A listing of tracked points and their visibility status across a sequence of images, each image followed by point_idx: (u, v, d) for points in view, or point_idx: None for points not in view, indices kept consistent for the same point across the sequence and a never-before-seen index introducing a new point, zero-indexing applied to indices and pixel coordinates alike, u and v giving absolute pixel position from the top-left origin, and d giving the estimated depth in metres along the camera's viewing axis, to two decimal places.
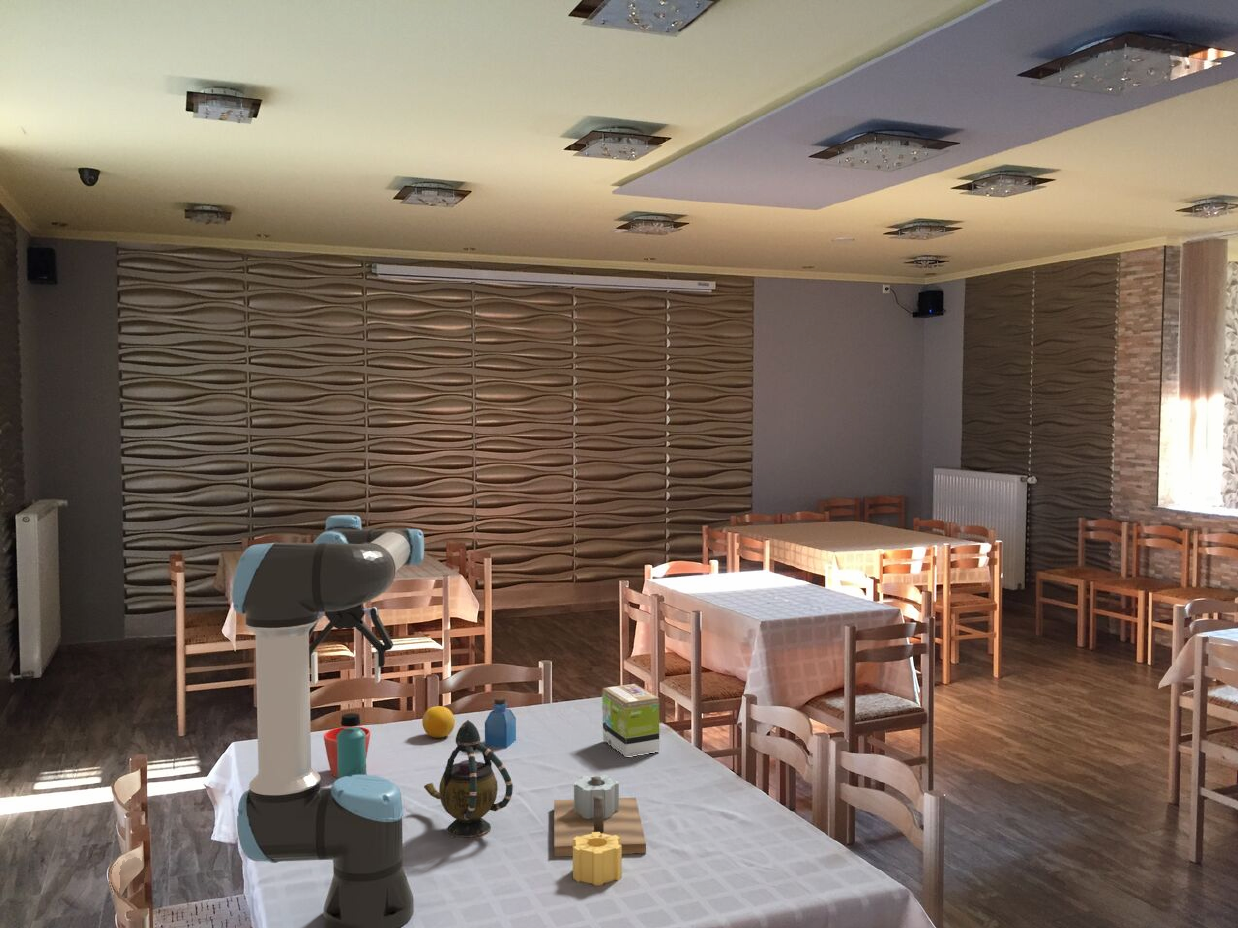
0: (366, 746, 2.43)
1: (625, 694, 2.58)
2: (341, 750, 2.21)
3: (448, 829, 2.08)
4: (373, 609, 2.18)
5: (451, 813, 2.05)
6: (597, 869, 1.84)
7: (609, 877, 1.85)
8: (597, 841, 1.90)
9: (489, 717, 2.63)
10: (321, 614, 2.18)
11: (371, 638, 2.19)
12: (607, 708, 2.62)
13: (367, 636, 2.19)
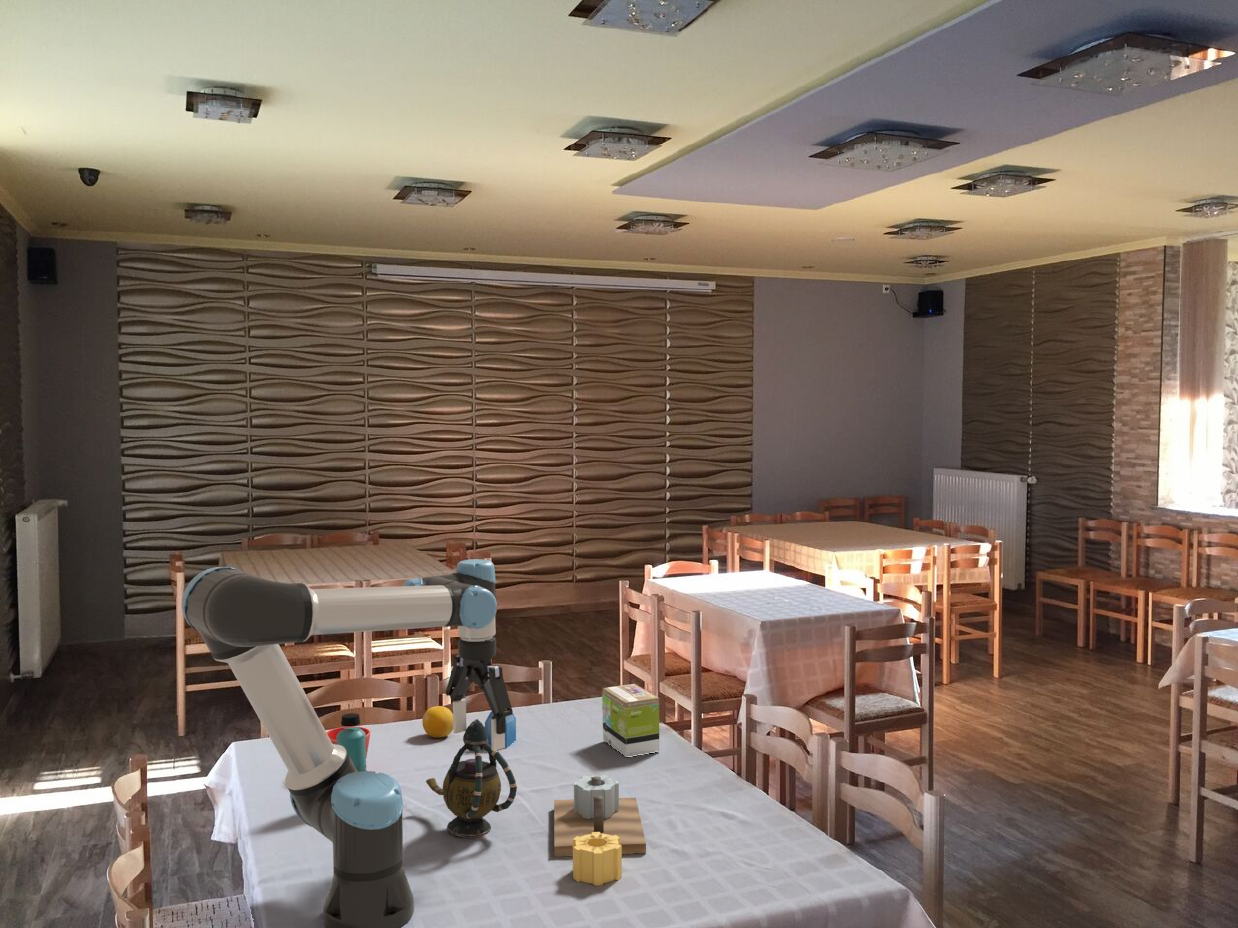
0: (366, 746, 2.43)
1: (625, 694, 2.58)
2: None
3: (448, 826, 2.08)
4: (490, 668, 1.96)
5: (453, 811, 2.05)
6: (597, 869, 1.84)
7: (609, 877, 1.85)
8: (597, 841, 1.90)
9: (489, 717, 2.63)
10: (461, 662, 2.05)
11: (489, 700, 1.97)
12: (607, 708, 2.62)
13: (487, 696, 1.97)
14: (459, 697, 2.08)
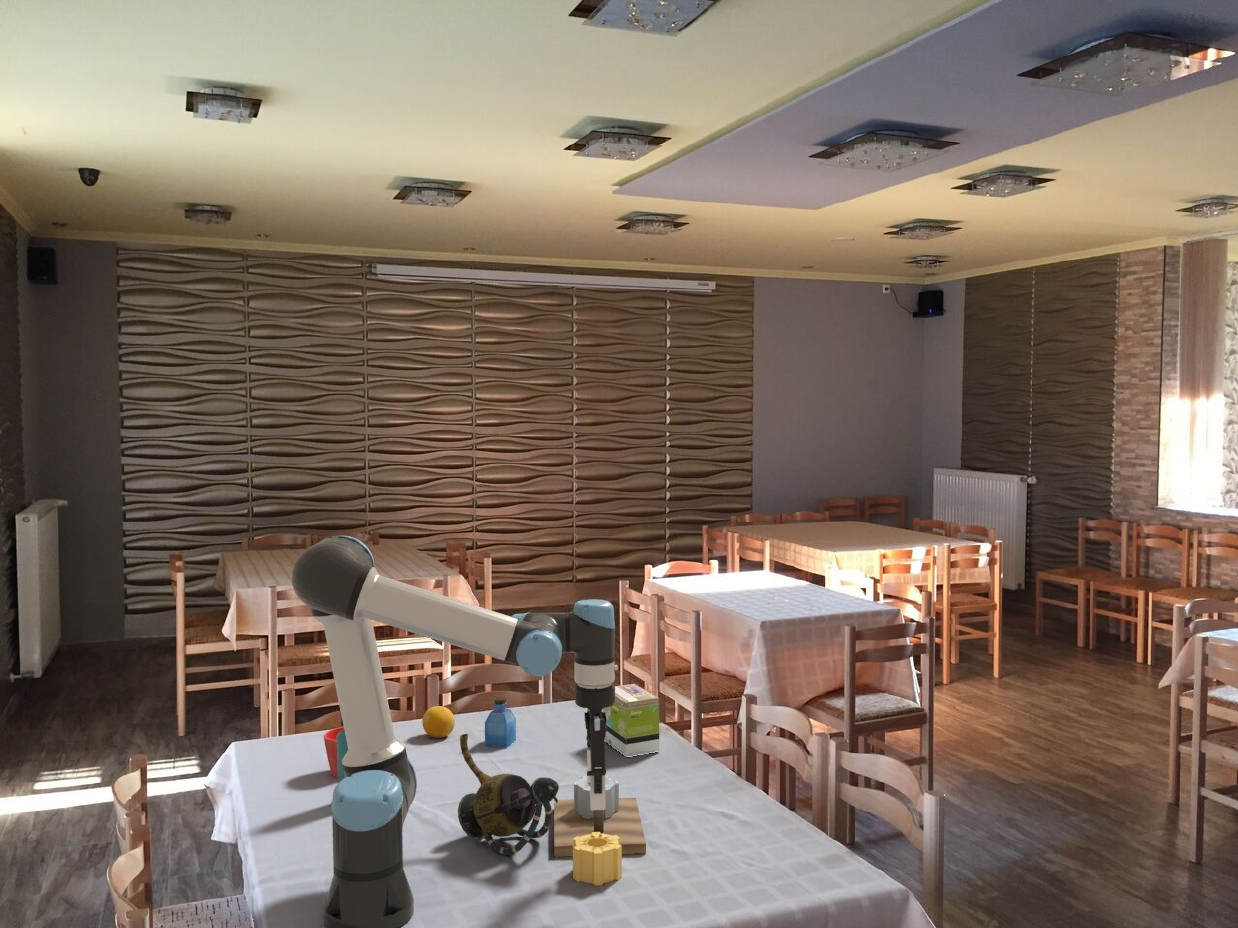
0: None
1: (625, 694, 2.58)
2: (341, 750, 2.21)
3: (461, 813, 2.03)
4: (590, 720, 1.81)
5: (478, 822, 1.99)
6: (597, 869, 1.84)
7: (609, 877, 1.85)
8: (597, 841, 1.90)
9: (489, 717, 2.63)
10: None
11: (590, 754, 1.82)
12: (607, 708, 2.62)
13: (590, 750, 1.83)
14: None
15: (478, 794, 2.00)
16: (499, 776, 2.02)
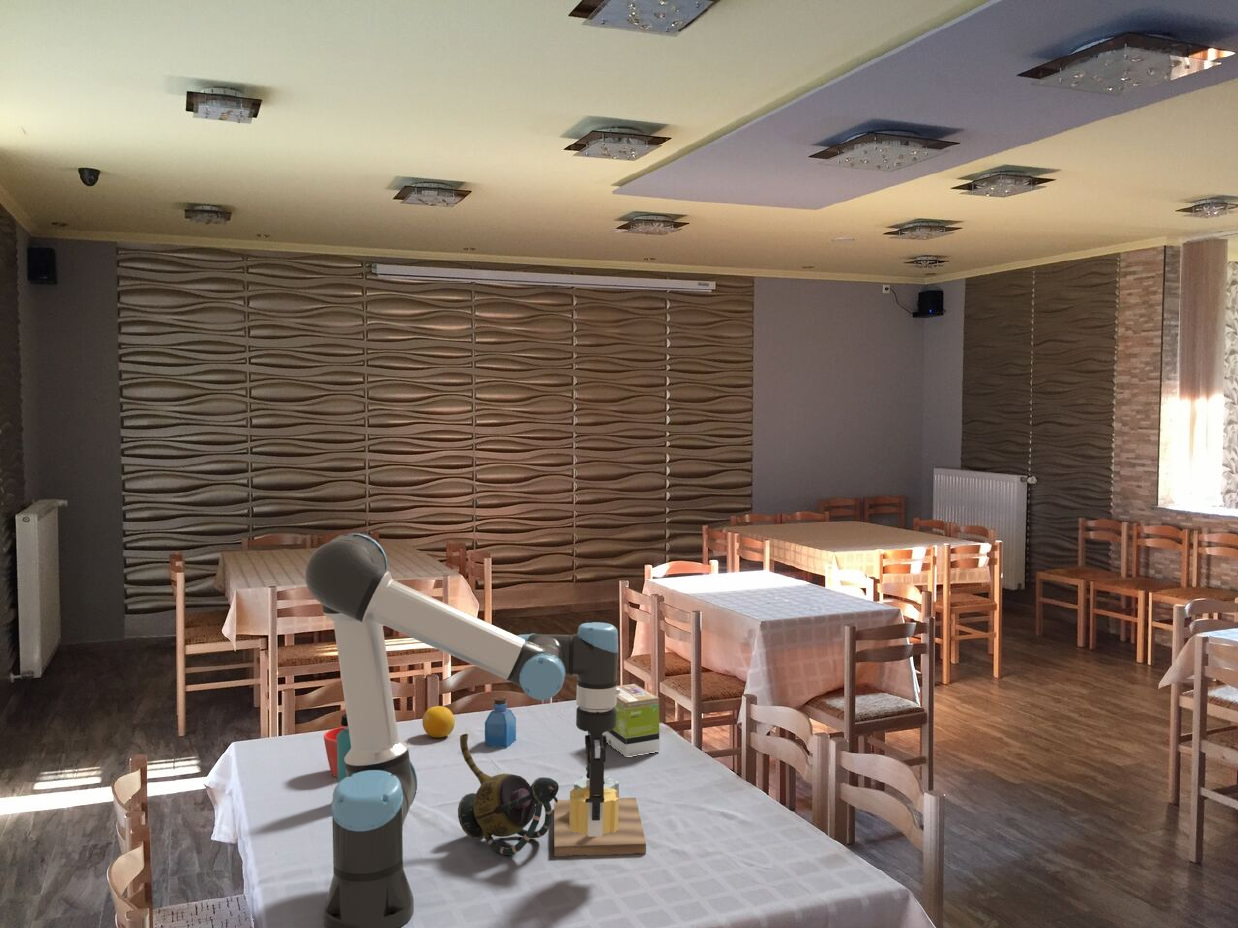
0: None
1: (625, 694, 2.58)
2: (341, 750, 2.21)
3: (461, 813, 2.03)
4: (590, 748, 1.81)
5: (478, 822, 1.99)
6: None
7: (605, 829, 1.85)
8: None
9: (489, 717, 2.63)
10: None
11: (589, 780, 1.83)
12: None
13: (589, 775, 1.84)
14: None
15: (478, 794, 2.00)
16: (499, 776, 2.02)
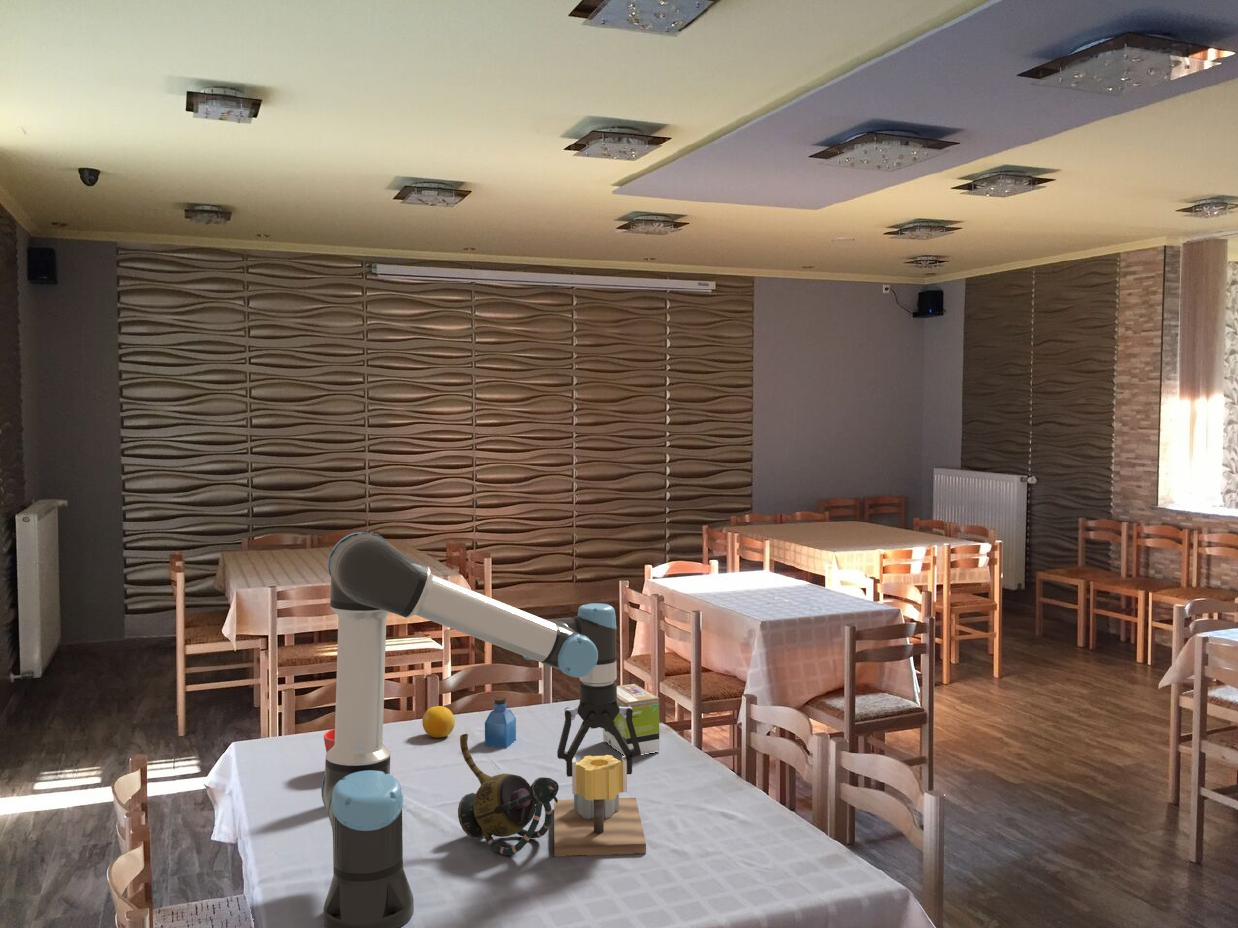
0: None
1: (625, 694, 2.58)
2: None
3: (461, 813, 2.03)
4: (630, 710, 2.01)
5: (478, 822, 1.99)
6: (622, 776, 2.03)
7: None
8: None
9: (489, 717, 2.63)
10: (574, 714, 2.01)
11: (622, 742, 2.01)
12: None
13: (618, 739, 2.01)
14: None
15: (478, 794, 2.00)
16: (499, 776, 2.02)
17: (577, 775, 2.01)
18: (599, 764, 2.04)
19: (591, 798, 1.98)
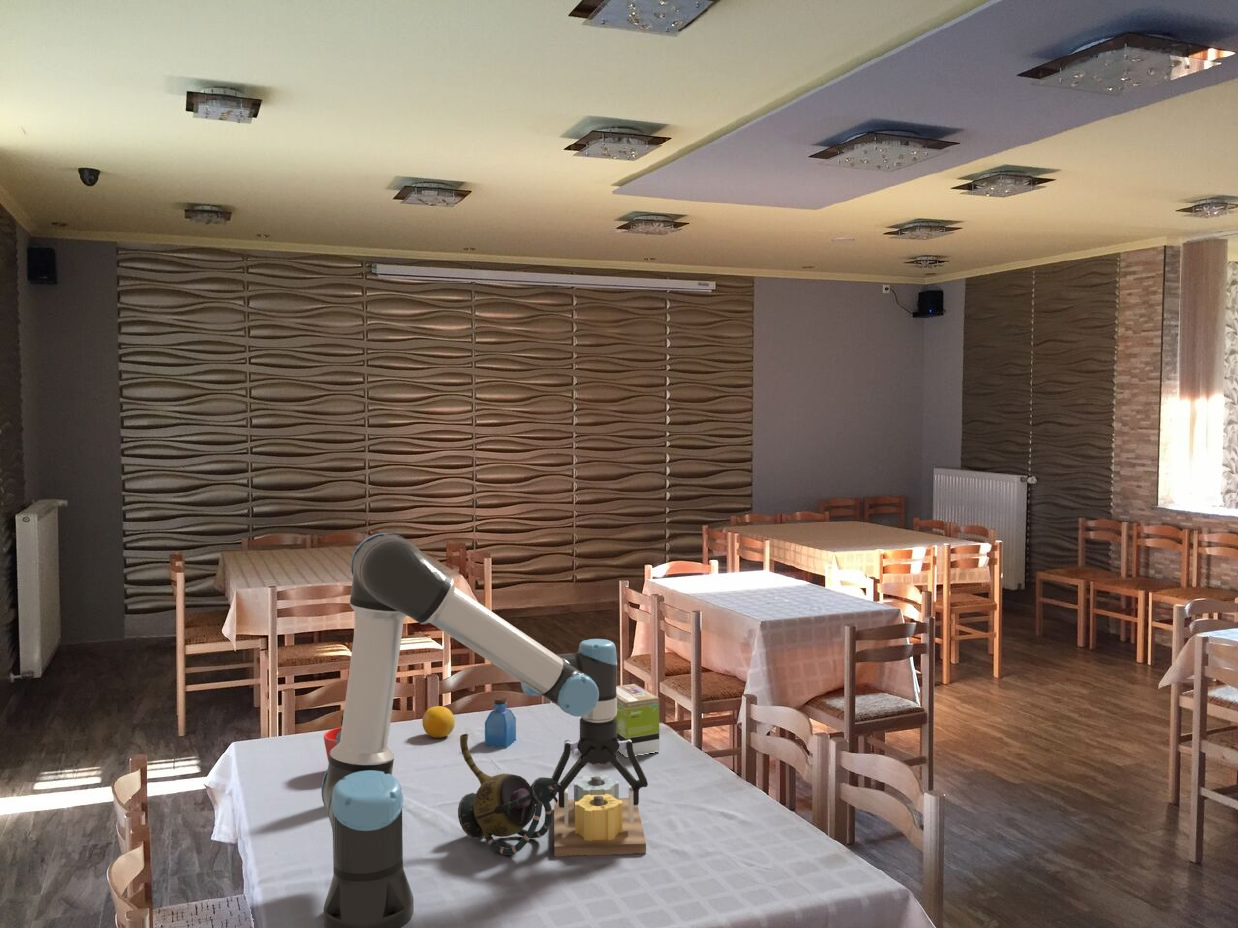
0: None
1: (625, 694, 2.58)
2: None
3: (461, 813, 2.03)
4: (630, 743, 2.01)
5: (478, 822, 1.99)
6: None
7: None
8: None
9: (489, 717, 2.63)
10: (573, 748, 2.02)
11: (626, 774, 2.02)
12: None
13: (622, 772, 2.02)
14: None
15: (478, 794, 2.00)
16: (499, 776, 2.02)
17: (576, 815, 2.02)
18: None
19: (590, 838, 1.99)
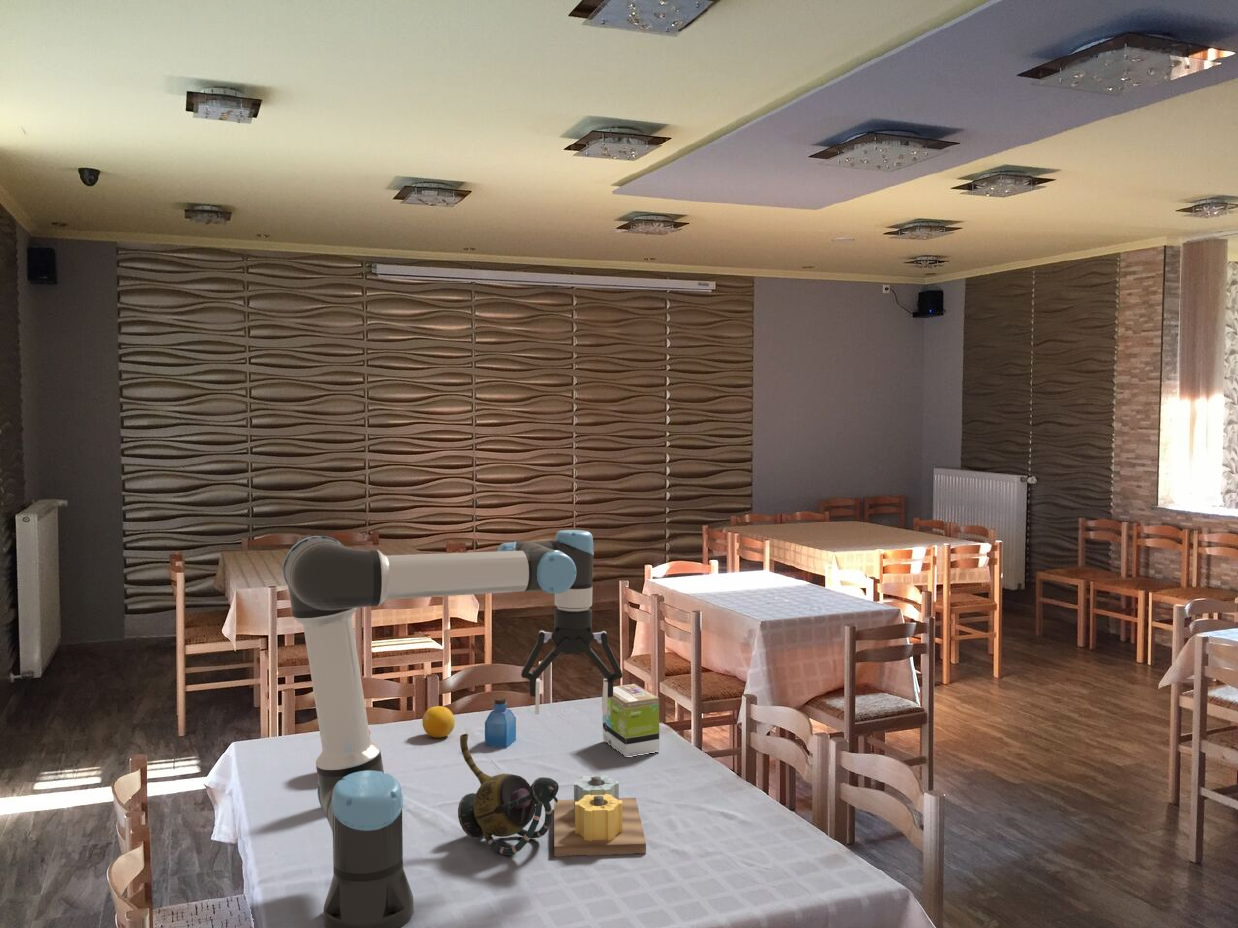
0: None
1: (625, 694, 2.58)
2: None
3: (461, 813, 2.03)
4: (604, 634, 2.00)
5: (478, 822, 1.99)
6: None
7: None
8: None
9: (489, 717, 2.63)
10: (547, 637, 2.00)
11: (601, 665, 2.00)
12: (607, 708, 2.62)
13: (597, 663, 2.00)
14: None
15: (478, 794, 2.00)
16: (499, 776, 2.02)
17: (576, 815, 2.02)
18: None
19: (590, 838, 1.99)
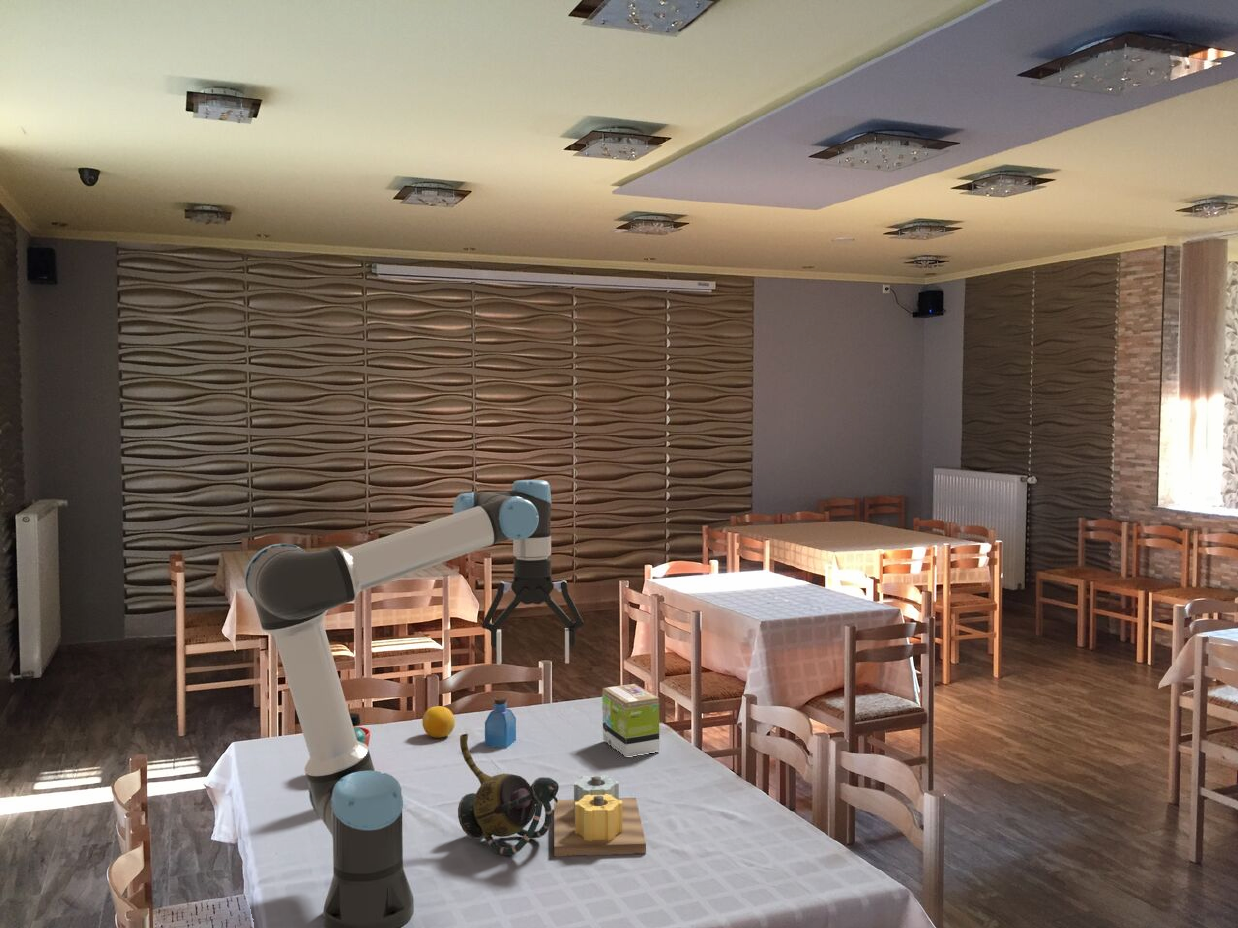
0: None
1: (625, 694, 2.58)
2: None
3: (461, 813, 2.03)
4: (564, 582, 2.00)
5: (478, 822, 1.99)
6: None
7: None
8: None
9: (489, 717, 2.63)
10: (507, 588, 2.00)
11: (561, 614, 2.00)
12: (607, 708, 2.62)
13: (557, 612, 2.00)
14: None
15: (478, 794, 2.00)
16: (499, 776, 2.02)
17: (576, 815, 2.02)
18: None
19: (590, 838, 1.99)
